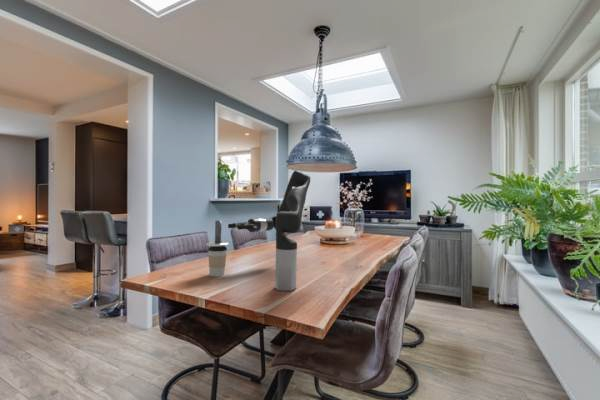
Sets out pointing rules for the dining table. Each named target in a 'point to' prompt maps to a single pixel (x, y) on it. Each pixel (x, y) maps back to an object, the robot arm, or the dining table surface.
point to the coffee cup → (217, 260)
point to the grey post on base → (217, 236)
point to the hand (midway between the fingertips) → (233, 226)
